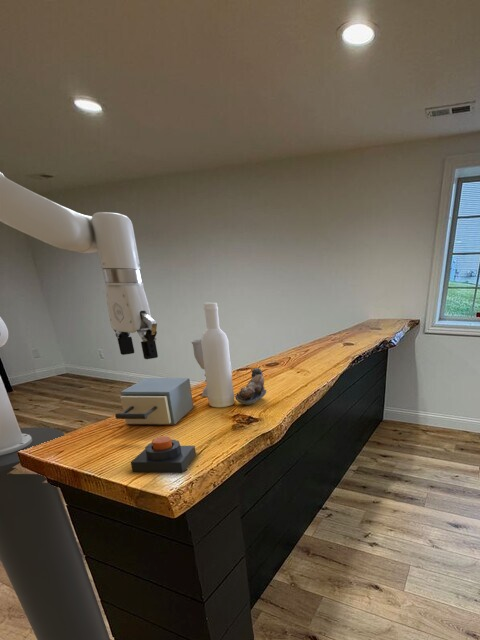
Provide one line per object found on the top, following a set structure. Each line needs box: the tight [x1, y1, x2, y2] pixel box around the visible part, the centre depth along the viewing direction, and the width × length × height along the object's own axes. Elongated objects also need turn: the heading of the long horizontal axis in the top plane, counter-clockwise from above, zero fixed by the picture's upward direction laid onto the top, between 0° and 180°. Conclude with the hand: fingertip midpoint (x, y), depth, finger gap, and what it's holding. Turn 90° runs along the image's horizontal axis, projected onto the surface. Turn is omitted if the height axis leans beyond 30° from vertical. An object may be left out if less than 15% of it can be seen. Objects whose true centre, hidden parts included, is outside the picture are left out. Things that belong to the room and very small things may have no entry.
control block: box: [130, 439, 197, 473], centre depth 72 cm, size 10×8×4 cm
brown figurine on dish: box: [234, 367, 267, 406], centre depth 110 cm, size 12×7×10 cm, turn 160°
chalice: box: [190, 339, 208, 398], centre depth 116 cm, size 7×7×18 cm
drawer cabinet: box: [120, 377, 194, 426], centre depth 98 cm, size 15×13×9 cm
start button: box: [151, 435, 172, 450], centre depth 71 cm, size 4×4×2 cm
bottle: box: [201, 302, 235, 408], centre depth 104 cm, size 8×8×30 cm
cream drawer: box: [114, 395, 171, 425], centre depth 93 cm, size 21×11×7 cm, turn 0°
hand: (139, 356), depth 84 cm, fingers open, 9 cm apart
